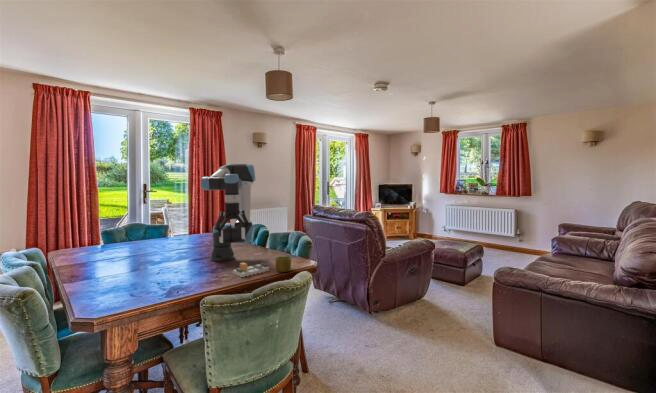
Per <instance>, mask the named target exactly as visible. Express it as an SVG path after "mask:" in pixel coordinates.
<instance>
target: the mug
mask: <svg viewBox="0 0 656 393" xmlns="http://www.w3.org/2000/svg"><path fill="white" fill-rule="evenodd" d="M275 268H276V271H278V272H277V273H288V272H289V271H290V272H291V271H292V256H287V255H283V256H277V257H275Z"/></svg>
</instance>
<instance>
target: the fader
mask: <svg viewBox="0 0 656 393" xmlns="http://www.w3.org/2000/svg"><path fill="white" fill-rule="evenodd" d="M247 267H248V263H246V262H240V263H239V269H241V270H242V271H246V270H247Z"/></svg>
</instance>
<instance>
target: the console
mask: <svg viewBox="0 0 656 393" xmlns="http://www.w3.org/2000/svg"><path fill="white" fill-rule="evenodd" d="M265 271H267V272H270V267H269V266H267V263H264V262H260V263H258V264H254V265H249V266H247V270H246V271H242V270H241V269H240V267H236V268H235V269H233V270H232V274H233V273H234V274H233V275H235V274H236V276H237V275H238V277H239V276H240V277H239V278H241V277H243V278H246V277H245V276H247V277H250V276H249V275H251V276H253V275H252V274H255V275H257V274H256V273H259V274H262V273H261V272H263V273H266V272H265Z"/></svg>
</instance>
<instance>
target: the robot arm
mask: <svg viewBox="0 0 656 393" xmlns="http://www.w3.org/2000/svg"><path fill="white" fill-rule="evenodd" d="M255 181H256V172H255V167H254V165H253V164H249V163H230V164H229V163H228V164H225V165H223V166H220V167H218V168H217V169H216V171H215V172H214V173H213V174H212V175H210V176H202V178H200V187H201V189H202V190H203V191H224V211H220V212H219V214H218V215H219V216H218V218H217V221H216V223H215V225H214V226H213V227H212V250H211V252H210V253H211V254H210V255H209V256H210V260H211V261H213V262H225V261H226V262H228V261H231V260H233V259H234V258H235V254H234V253H235V252H234V250H233V247H232V244H242V243H244V244H246V243H251V242H252V241H253V240H254V235H255V225H254V224H253V222H252V220H251V194H252V193H251V192H252V191H251V190H252V189H251V188H252V186H253V185H254V182H255ZM230 220H236V221H235V222H234V224H233V225H232V223H230V222H228V221H230Z"/></svg>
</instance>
